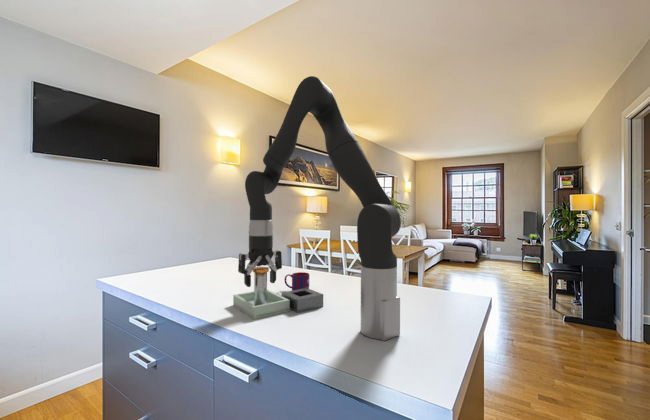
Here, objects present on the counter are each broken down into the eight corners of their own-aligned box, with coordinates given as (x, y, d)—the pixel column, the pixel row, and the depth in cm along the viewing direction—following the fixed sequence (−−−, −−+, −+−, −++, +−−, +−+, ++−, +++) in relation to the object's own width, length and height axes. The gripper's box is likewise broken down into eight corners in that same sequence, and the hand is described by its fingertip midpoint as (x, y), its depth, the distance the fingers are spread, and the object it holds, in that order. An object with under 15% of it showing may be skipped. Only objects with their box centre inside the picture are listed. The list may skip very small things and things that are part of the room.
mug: (304, 294, 111) (304, 276, 111) (281, 291, 116) (281, 274, 116) (312, 290, 118) (312, 273, 118) (290, 287, 122) (290, 270, 122)
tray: (289, 310, 94) (289, 300, 94) (253, 319, 86) (253, 307, 86) (266, 298, 106) (266, 289, 106) (233, 305, 99) (233, 294, 99)
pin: (271, 305, 96) (271, 268, 96) (256, 309, 93) (256, 270, 93) (264, 301, 100) (264, 266, 100) (249, 304, 97) (250, 267, 97)
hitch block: (323, 306, 98) (323, 294, 98) (297, 312, 92) (297, 299, 92) (306, 299, 106) (306, 287, 106) (281, 304, 100) (281, 292, 100)
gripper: (244, 236, 89) (244, 290, 89) (286, 233, 98) (285, 283, 98) (234, 234, 95) (234, 285, 95) (275, 232, 104) (275, 279, 104)
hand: (260, 284), depth 96 cm, fingers open, 8 cm apart
